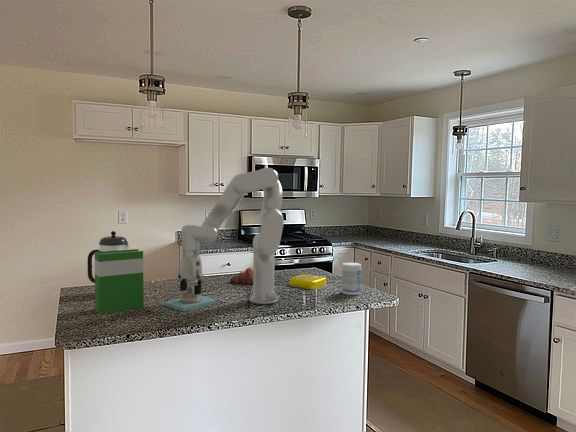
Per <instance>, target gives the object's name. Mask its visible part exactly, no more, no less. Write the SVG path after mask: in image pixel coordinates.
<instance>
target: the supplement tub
mask: <svg viewBox="0 0 576 432" xmlns="http://www.w3.org/2000/svg"><path fill="white" fill-rule="evenodd" d="M341 293H342V294H343V295H346V294H347V295H346V296H358V295H360V294H361V293H362V264H361V263H358V262H343V263H342V266H341Z"/></svg>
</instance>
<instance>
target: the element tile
mask: <svg viewBox="0 0 576 432" xmlns="http://www.w3.org/2000/svg"><path fill="white" fill-rule="evenodd" d="M326 285H327V277H326V276H320V275H314V274H308V273H307V274H306V273H304V274H300V275H296V276H292V277H290V278H289V286H290V287H296V288H301V289H307V290H315V289H318V288H321V287H325V286H326Z"/></svg>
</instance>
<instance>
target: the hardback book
mask: <svg viewBox="0 0 576 432" xmlns="http://www.w3.org/2000/svg"><path fill="white" fill-rule="evenodd" d="M94 279H95V283H94V303H95V306H94V307H95V308H94V309H95V311H96V312H97V313H98V314H99V315H100V314H106V313H107V314H108V313H114V312H121V311H128V310H135V309H136V310H137V309H142V308H144V306H145V305H144V251H143V250H140V251H139V249H138V248H137V249H135V248H134V249H128V250H117V251H103V252H94Z"/></svg>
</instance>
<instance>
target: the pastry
mask: <svg viewBox="0 0 576 432" xmlns="http://www.w3.org/2000/svg"><path fill="white" fill-rule="evenodd" d="M229 281H230V283H233V284H238V283H240V284H242V285H249V286H250V285H253V269H252V268H251V267H248V268H246V269H245V271H240V272H239V273H237V274H236V275H233V276H232V277H231V278H230V279H229Z"/></svg>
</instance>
